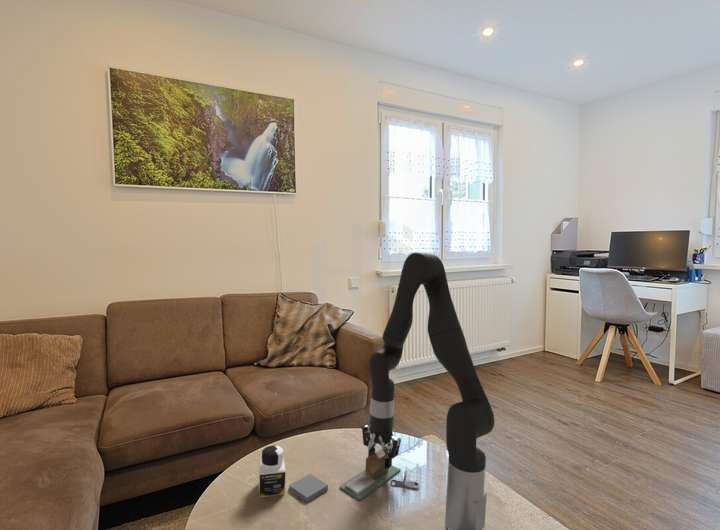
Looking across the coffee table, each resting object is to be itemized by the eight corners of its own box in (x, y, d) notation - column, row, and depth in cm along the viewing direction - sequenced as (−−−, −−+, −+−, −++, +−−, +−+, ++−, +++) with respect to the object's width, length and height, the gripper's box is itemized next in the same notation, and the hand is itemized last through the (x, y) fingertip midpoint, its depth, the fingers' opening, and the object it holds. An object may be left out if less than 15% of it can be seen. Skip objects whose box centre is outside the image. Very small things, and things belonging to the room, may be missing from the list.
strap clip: (418, 485, 120) (419, 471, 119) (418, 491, 117) (419, 477, 116) (391, 481, 121) (391, 467, 121) (390, 486, 118) (390, 473, 118)
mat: (400, 471, 126) (400, 469, 126) (359, 500, 111) (360, 498, 111) (380, 461, 131) (380, 459, 131) (339, 488, 116) (339, 486, 116)
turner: (390, 471, 124) (391, 453, 124) (357, 495, 112) (358, 474, 112) (378, 465, 128) (379, 447, 127) (345, 487, 115) (345, 467, 115)
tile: (328, 485, 115) (307, 497, 109) (327, 490, 115) (306, 503, 109) (309, 473, 120) (289, 485, 114) (309, 479, 120) (288, 490, 114)
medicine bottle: (259, 498, 110) (260, 456, 109) (258, 483, 117) (259, 443, 116) (284, 495, 112) (286, 454, 111) (282, 480, 119) (284, 441, 118)
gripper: (407, 415, 121) (405, 468, 122) (371, 401, 130) (369, 451, 131) (393, 423, 115) (390, 478, 116) (356, 408, 125) (354, 459, 125)
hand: (379, 463), depth 124 cm, fingers open, 5 cm apart
